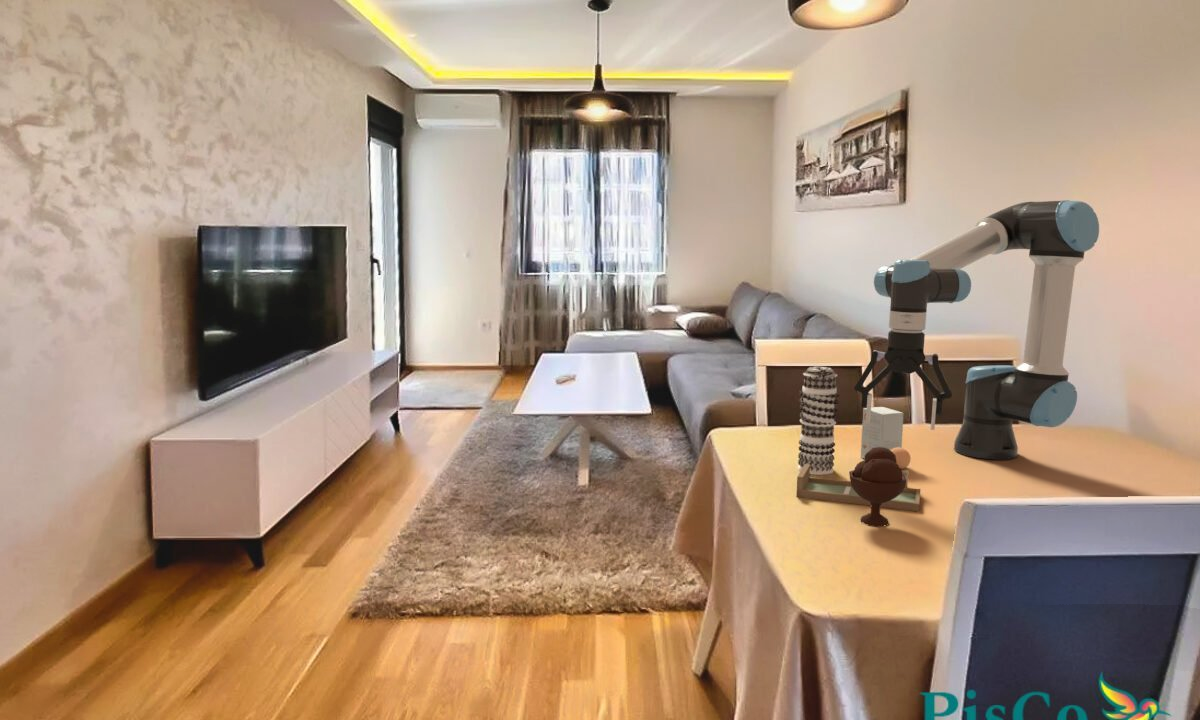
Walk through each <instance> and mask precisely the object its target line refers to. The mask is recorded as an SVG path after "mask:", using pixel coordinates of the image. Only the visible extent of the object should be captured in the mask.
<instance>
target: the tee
mask: <svg viewBox="0 0 1200 720" xmlns="http://www.w3.org/2000/svg"><path fill="white" fill-rule="evenodd" d="M909 466H910V465H908V466H907V467H906V468H905V469H902V475H904V476H905V478H906V480H907V482H906V485H905V488H908V487H909V486H908V485H909V468H910V467H909ZM907 486H908V487H907Z"/></svg>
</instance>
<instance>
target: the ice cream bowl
mask: <svg viewBox="0 0 1200 720" xmlns="http://www.w3.org/2000/svg"><path fill="white" fill-rule="evenodd" d="M896 462H897V461H896V456H895V454H894V453H893V452H892V451H890V450H889V449H887V448H885V447H876V448H872V449H871V450H870V451H869V452H867V453H866V454H865V459H864V460H861V461H860V462H858V463H856V465H855V467H854V470H850V471H848V474H849V481H851V485H852V487H853V490H854V491H855V492H856V493H857V494H858V495H859V496H860V497H862V498H863V499H865V500H867V501H869V502H870V503H871V506H870V512H869V513H866V514H865V515H862V516H861V517H860V523H862V522H864V523H865V525H866V524H868V525H867V526H871V525H873V526H872V527H885V526H884V525H886V526H888V525H887V524H889V525H890V522H889V519H888V518H887V517H886V516H884V515H883V514H881V512H880V511H881V507H880V506H881V504H882V503H885V502H888V501H890V500H892V499H894V498H896V497H897V496H898V495H900V494H901V493H902V491H903V490H904V488H905V485H906V482H907V480H906V478H905V476H904V475H902V470H901V468H899V466H898V464H897V463H896ZM864 523H863V524H864Z"/></svg>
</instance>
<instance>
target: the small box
mask: <svg viewBox="0 0 1200 720" xmlns="http://www.w3.org/2000/svg"><path fill="white" fill-rule="evenodd" d="M862 409H863V410H862V424H861V426H862V428H861V440H860V441H861V445H860V446H861V447H860V458H861V459H864V460H865V454H866V453H867V452H869V451H870V450H871V449H872V448H876V447H885V448H887V449H889V450H891V449H893V448H896V447H900V448H903V446H902V445H903V430H904V429H903V428H904V412H901V411H899V410H895V409H893V408H888V407H884V406H875V407H873V406H871V417H870V423H869V424H867V423H866V412H867V408H862Z"/></svg>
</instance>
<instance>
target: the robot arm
mask: <svg viewBox="0 0 1200 720" xmlns="http://www.w3.org/2000/svg"><path fill="white" fill-rule="evenodd" d="M1099 223H1100V222H1099V218H1098V216H1097V213H1096V212H1095V210H1094V209H1093V207H1092V206H1091V205H1090V204H1088V203H1087V202H1084V201H1079V200H1069V199H1068V200H1051V201H1050V200H1049V201H1048V200H1047V201H1024V202H1020V203H1017V204H1013V205H1011V206H1008V207H1005V208H1003V209H1000V210H999V211H997V212H994V213H992V214H990V215H988V216H986V217H984V218H982V219H980V220H979V221H978V222H977V223H976V225H975V226H974V227H973V228H971V229H969V230H967V231H964V232H963V233H961V234H958V235H957V236H955V237H952V238H951V239H949V240H947V241H945V242H943V243H941V244H939V245H937V246H935V247H932V248H930V249H928V250H927V251H925V252H923V253H920V254H919V255H917V256H915V257H912V258H911V259H897V260H896V261H895V262H894V263H893V264H891V265H884V266H881V267H880V268H879V269H878V270H877V271H876V272H875V274H874V277H873V286H874V289H875V291H876V293H877V294H878V295H880V296H881V297H886V298H890V307H889V308H890V309H889V321H888V328H889V329H891V330H889V331H888V332H887V335H888V336H887V345H886V346H887V347H886V351H885V352H884V351H879V350H878V349H874V350H873V351H872V353H871V358H870V361H869V362H868V364H867V366H866V368H865V369H864V371H863V373H862V374H861V376H860V377H859V378H858V381H857V382H856V383H855V386H854V390H855V391H856V392H860V393H861V394H862V396H861V408H862V409H863V408H867V412H866V423H867V424H869V423H870V417H871V408H872V399H873V398H872V397H873V393H872V392H870V391H872V390H873V389H874V388H875V387H876V386H877V385H878V384H879V383H880V382H881V381H882V380H883V379H884V378H886V376H887V375H889V374H890V373H891V372H892V371H893V372H895V373H897V374H899V373H900V374H902V373H904V374H909V375H910V374H912V373H916V375H917V376H918V377H919V378H920V380H921V381H922V382H923V383H924V384H925V386H926V387H927V388H928V389H929V391H930V392H931V393H932V395H933V396H934V397H935V398H932V409H931V419H930V421H931V422H930V430H931V431H935V426H936V425H935V424H936V415H941V414H942V409H943V401H944V400H946V399H951V398H952V397H953V396H952V395H953V394H952V391H951V388H950V386H949V384H948V382H947V379H946V377H945V375H944V373H943V371H942V368H941V367H940V364H939V355H938V354H937V353H933V354H925V352H924V349H925V337H926V335H925V332H923V331H925V330H926V324H927V321H926V320H927V312H928V311H927V308H928V304H930V303H931V304H932V303H933V304H936V303H937V304H938V303H939V304H940V303H942V304H943V303H945V304H946V303H948V304H953V303H959V302H962V301H965V299H967V298H968V297H969V295H970V293H971V290H972V279H971V277H970V276H969V274H968V273H967V272H966V271H965V270H962V269H963V268H965V267H967V266H969V265H971V264H973V263H975V262H977V261H978V260H981V259H982V258H984V257H986V256H989V255H994V256H995V255H999V254H1001V253H1003V252H1006V251H1011V250H1012V251H1013V250H1029V255H1028V257H1029V259H1030V260H1031V261H1032V262H1033V264H1034V269H1033V278H1032V286H1031V294H1030V302H1029V310H1028V318H1027V319H1028V320H1027V326H1026V335H1025V341H1024V342H1025V343H1024V350H1023V359H1022V362H1021V363H1019V364H1018V365H1017V366H1015V365H1003V364H1002V365H998V364H997V365H994V364H993V365H978V366H977V365H976V366H971V368H969V369H968V370H967V373H966V379H965V391H964V392H965V393H964V405H963V406H964V408H963V420H962V424H961V425H960V428H959V431H958V433H957V435H956V437H955V440H954V444H953V446H954V447H953V450H954V451H955V452H956V453H958V454H961V455H963V456H967V457H971V458H975V459H984V460H994V461H995V460H999V461H1001V460H1005V461H1006V460H1012V459H1015V458H1017V457H1018V453H1019V451H1018V450H1019V447H1018V444H1017V440H1016V436H1015V431H1014V428H1013V421H1018V422H1023V423H1028V424H1030V425H1032V426H1033V425H1034V426H1036V427H1045V428H1056V427H1059V426H1061V425H1063V424H1064V423H1065V422H1067V420H1068V419H1069V418H1070V417H1071V416H1072V414H1073V412H1074V411H1075V408H1076V404H1077V401H1078V393H1077V390H1076V389H1077V388H1076V386H1075V385H1074V384H1073V383H1071V382H1070V381H1069V372H1068V370H1067V369H1066V368H1065V367H1064V365H1063V363H1064V357H1065V356H1064V355H1065V350H1066V349H1065V347H1066V341H1067V334H1068V324H1069V319H1070V318H1069V317H1070V312H1071V311H1070V309H1071V302H1072V296H1073V295H1072V294H1073V286H1074V281H1075V273H1076V271H1075V270H1076V266H1077V265H1078V264H1079V263H1081V262H1082V261H1083V260H1084V258H1085V257H1084V256H1085V252H1087V251H1091V249H1092V248H1093V247H1095V243H1097V241H1098V238H1099V235H1100V224H1099ZM882 358H884V359H885V361H886V362H887V363H888V364H887V365H886V366H885V367H884V368H883V369H882V370H881V371H880V372H879V373H878V374H877V375H876V376H875V377H874V378H873V379H871V380H870V382H868V384H866V386H863V384H864V383H865V381H866V380H867V378H868V376H869V375H870V373H871V372H872V370H873V368H874V367H875V365H876V363H877V362H880V361H881V360H882ZM925 361H927V362H928V364H929V365H930V366H932V368H933V371H934V373H935V375H936V377H937V379H938V382H939V383H940V386H941V388H942V390H943V392H941V391H940V390H939V388H938V387H937V386H936V385H935V383H934V382H933V380H932V379H931V378H930V377H929V375H927V373H926V372H925V371H924V369H923V368H922V364H923V363H925Z"/></svg>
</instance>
